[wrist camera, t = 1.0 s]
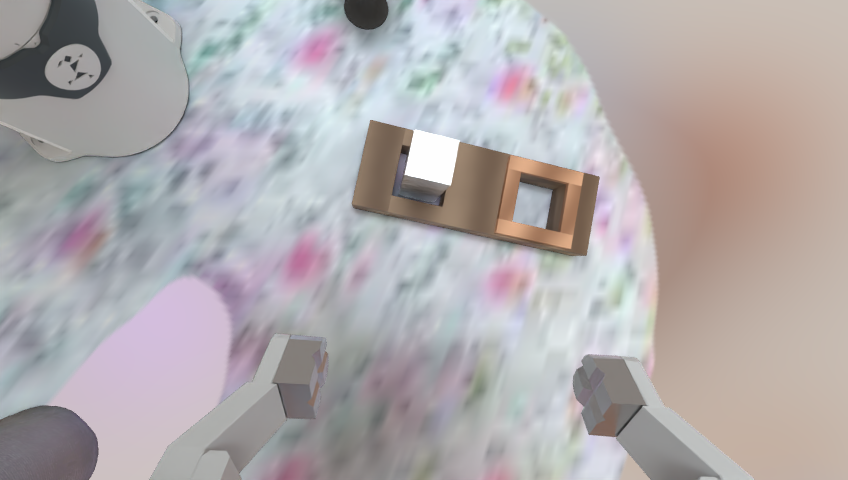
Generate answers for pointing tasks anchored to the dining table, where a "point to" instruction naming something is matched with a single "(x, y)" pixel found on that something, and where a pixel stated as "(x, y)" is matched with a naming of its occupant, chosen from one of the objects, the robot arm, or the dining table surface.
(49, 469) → the pillar candle
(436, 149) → the steel post
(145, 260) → the dining table surface
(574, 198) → the walnut rail
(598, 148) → the dining table surface
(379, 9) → the sundae
